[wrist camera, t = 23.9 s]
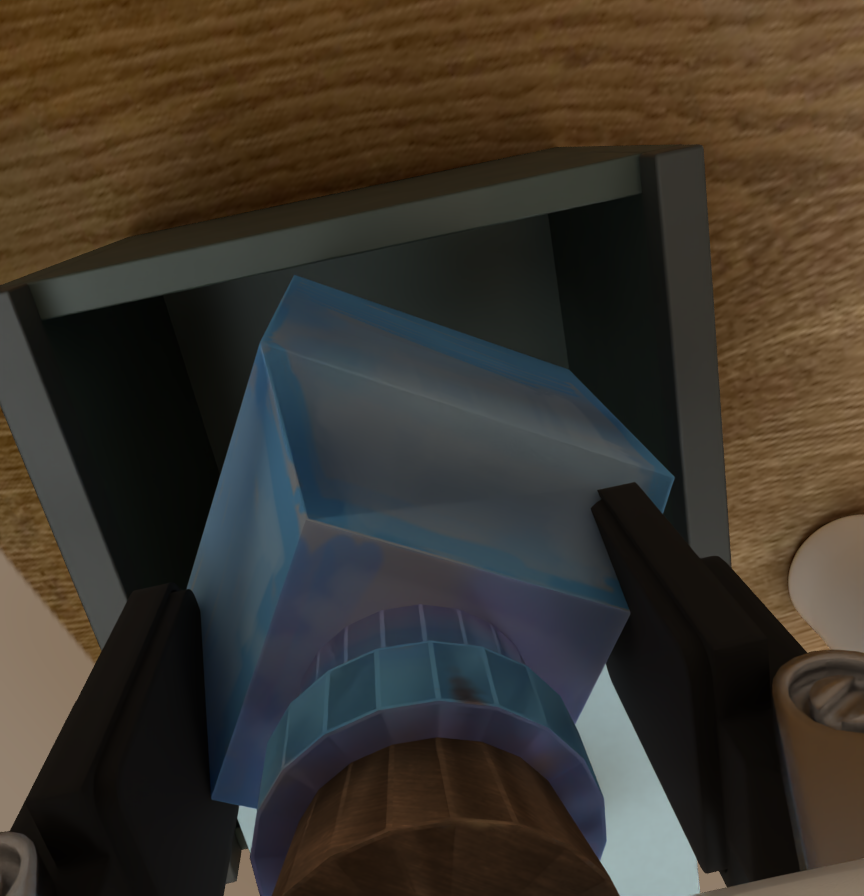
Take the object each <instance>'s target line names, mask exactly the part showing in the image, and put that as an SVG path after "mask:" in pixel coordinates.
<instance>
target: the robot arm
mask: <svg viewBox="0 0 864 896" xmlns="http://www.w3.org/2000/svg"><path fill="white" fill-rule="evenodd" d="M597 491H598V494H599V496H600V498H601V500H600V501H598V502H596V503H595V504H594V505H593V506H592V508H591V511H592V514H593V516H594V519H595V521H596V524H597V527H598V529H599V532H600V534H601V537H602V540H603V542H604V545H605V548H606V550H607V553H608V555H609V558H610V561H611V563H612V566H613V568H614V571H615V574H616V576H617V579H618V581H619V584H620V587H621V589H622V592H623V594H624V597H625V600H626V602H627V605H628V607H629V610H630V616H629V618H628V620H627V622H626V624H625V626H624V628H623V630H622V632H621V634H620V636H619V638H618V640H617V642H616V644H615V646H614V648H613V650H612V652H611V654H610V656H609V658H608V660H607V662H606V666H607V670H608V673H609V676H610V679H611V682H612V684H613V686H614V688H615V690H616V692H617V694H618V696H619V698H620V701H621V703H622V705H623V707H624V709H625V711H626V713H627V715H628V717H629V719H630V721H631V723H632V725H633V728H634V730H635V732H636V734H637V736H638V738H639V740H640V742H641V744H642V746H643V748H644V750H645V753H646V755H647V757H648V759H649V761H650V763H651V765H652V767H653V769H654V771H655V773H656V775H657V777H658V780H659V782H660V784H661V786H662V788H663V790H664V792H665V794H666V796H667V798H668V800H669V802H670V805H671V807H672V809H673V811H674V813H675V815H676V817H677V819H678V821H679V823H680V825H681V827H682V830H683V832H684V834H685V836H686V838H687V840H688V842H689V844H690V846H691V848H692V850H693V852H694V854H695V857H696V859H697V861H698V863H699V864H700V867H701V868H702V870H703V871H704V872H705V873H711V872H716V871H719V872H720V874H721V876H722V878H723V880H724V882H725V884H726V886H727V888H722V889H718V890H713V891H709V892H704V893H699V894H695V895H690V896H864V653H862V652H858V651H848V650H835V649H833V650H823V651H813V652H809V653H807V652H806V651H805V650H804V649H803V647H802V646H801V645H800V644H799V643H798V642H797V641H796V640H795V639H794V637H793V636H792V635H791V634H790V633H789V632H788V631H787V630H786V629H785V627H784V626H783V625H782V624H781V623H780V622H779V621H778V620H777V619H776V617H775V616H774V615H773V614H772V613H771V612H770V611H769V610H768V608H767V607H766V606H765V605H764V604H763V603H762V602H761V601H760V600H759V598H758V597H757V596H756V595H755V594H754V593H753V592H752V591H751V590H750V588H749V587H748V586H747V585H746V584H745V583H744V582H743V581H742V580H741V578H740V577H739V576H738V575H737V574H736V573H735V572H734V571H733V570H732V568H731V567H730V566H729V565H728V564H727V563H726V562H725V561H724V560H723V559H722V558H721V557H719V556H710V557H705V558H699V556H698V555H697V554H696V553H695V552H694V550H693V549H692V548H691V547H690V546H689V545H688V543H687V542H686V541H685V540H684V539H683V537H682V536H681V535H680V534H679V533H678V531H677V530H676V529H675V528H674V527H673V526H672V524H671V523H670V522H669V521H668V520H667V518H666V517H665V516H664V515H663V514H662V513H661V511H660V510H659V509H658V508H657V507H656V505H655V504H654V503H653V502H652V501H651V499H650V498H649V497H648V496H647V495H646V494H645V492H644V491H643V490H642V489H641V488H640V486H639V485H638V484H637V483H635V482H632V483H627V484H623V485H618V486H613V487H609V488H604V489H600V490H597ZM238 811H239V805H235V804H230V803H225V802H220V801H216V800H212V799H211V788H210V770H209V753H208V735H207V718H206V700H205V683H204V665H203V648H202V630H201V613H200V609H199V606H198V603H197V600H196V598H195V595H194V593H193V592H192V590H190V589H186V590H182V591H181V590H180V588H179V587H178V585H177V584H175V583H174V582H172V583H167V584H162V585H158V586H153V587H149V588H144V589H139V590H135V591H133V592H132V593H131V594H130V596H129V598H128V600H127V602H126V604H125V606H124V608H123V610H122V612H121V614H120V616H119V618H118V620H117V622H116V624H115V626H114V628H113V630H112V632H111V634H110V636H109V638H108V640H107V642H106V644H105V646H104V648H103V650H102V652H101V654H100V656H99V658H98V660H97V661H96V663H95V665H94V667H93V669H92V671H91V673H90V675H89V677H88V679H87V681H86V683H85V685H84V687H83V689H82V691H81V693H80V695H79V697H78V699H77V701H76V702H75V704H74V706H73V708H72V710H71V712H70V714H69V716H68V718H67V720H66V721H65V723H64V726H63V727H62V730H61V732H60V733H59V736H58V737H57V739H56V741H55V743H54V745H53V747H52V749H51V751H50V753H49V755H48V757H47V759H46V761H45V763H44V765H43V767H42V769H41V771H40V773H39V775H38V777H37V779H36V781H35V783H34V785H33V786H32V789H31V790H30V793H29V795H28V796H27V798H26V800H25V802H24V804H23V806H22V808H21V810H20V812H19V814H18V816H17V818H16V820H15V822H14V824H13V826H12V828H11V830H10V831H8V832H0V896H223V895H224V889H225V884H226V879H227V873H228V867H229V862H230V856H231V850H232V845H233V839H234V834H235V828H236V822H237V817H238Z"/></svg>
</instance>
